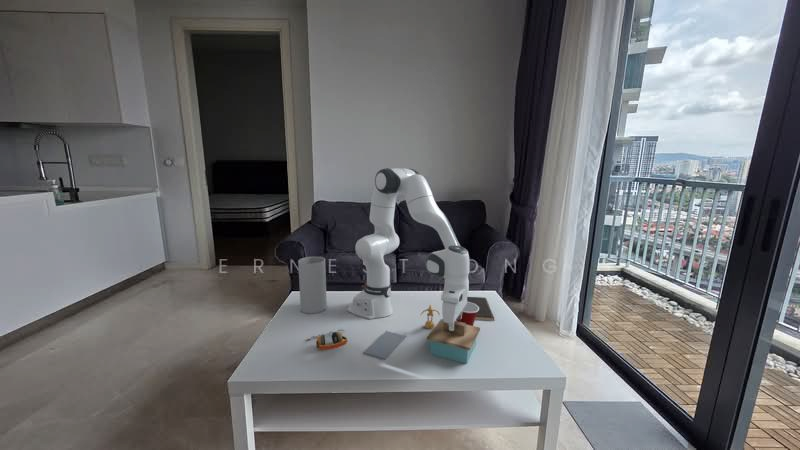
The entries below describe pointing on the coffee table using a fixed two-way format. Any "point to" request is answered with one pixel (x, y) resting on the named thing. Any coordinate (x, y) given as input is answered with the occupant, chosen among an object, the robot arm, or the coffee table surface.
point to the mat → (384, 345)
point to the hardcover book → (481, 308)
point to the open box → (451, 351)
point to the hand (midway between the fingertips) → (455, 324)
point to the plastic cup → (469, 313)
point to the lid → (454, 334)
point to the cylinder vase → (312, 284)
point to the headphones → (336, 339)
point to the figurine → (429, 323)
